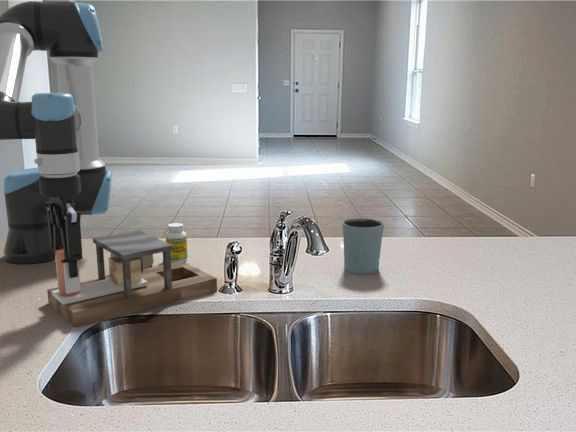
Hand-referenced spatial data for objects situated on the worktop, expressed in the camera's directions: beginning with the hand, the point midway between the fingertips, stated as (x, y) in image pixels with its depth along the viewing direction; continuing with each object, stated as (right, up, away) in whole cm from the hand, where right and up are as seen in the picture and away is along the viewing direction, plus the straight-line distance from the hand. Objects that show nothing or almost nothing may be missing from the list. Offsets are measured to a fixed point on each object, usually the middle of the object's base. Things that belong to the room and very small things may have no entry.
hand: (69, 288), depth 120 cm
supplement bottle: (+15, +3, +36) cm, 39 cm away
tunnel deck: (+11, -3, +10) cm, 15 cm away
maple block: (+9, +1, +8) cm, 12 cm away
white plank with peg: (+5, -1, +4) cm, 7 cm away
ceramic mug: (+6, +1, +28) cm, 29 cm away
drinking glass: (+63, +1, +29) cm, 69 cm away
